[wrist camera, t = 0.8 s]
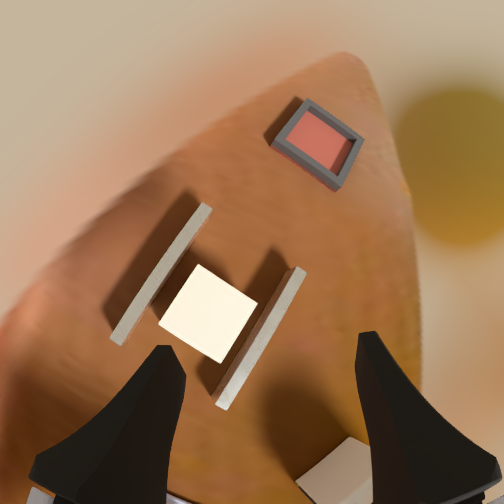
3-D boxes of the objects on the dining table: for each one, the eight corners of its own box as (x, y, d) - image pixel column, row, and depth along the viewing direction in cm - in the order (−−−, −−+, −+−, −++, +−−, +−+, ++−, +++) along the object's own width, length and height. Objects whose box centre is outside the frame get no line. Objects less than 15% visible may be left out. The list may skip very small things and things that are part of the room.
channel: (221, 402, 22) (226, 410, 20) (115, 336, 22) (109, 338, 19) (295, 277, 26) (306, 272, 24) (199, 213, 26) (202, 202, 23)
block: (213, 357, 23) (220, 363, 20) (160, 323, 23) (158, 324, 19) (244, 306, 25) (257, 303, 21) (194, 272, 25) (198, 263, 21)
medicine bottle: (292, 481, 22) (358, 547, 11) (348, 434, 24) (435, 474, 13) (326, 512, 22) (390, 568, 10) (376, 470, 24) (452, 508, 13)
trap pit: (334, 192, 30) (341, 186, 28) (269, 146, 29) (274, 139, 28) (358, 145, 32) (364, 139, 31) (302, 105, 32) (307, 97, 30)
